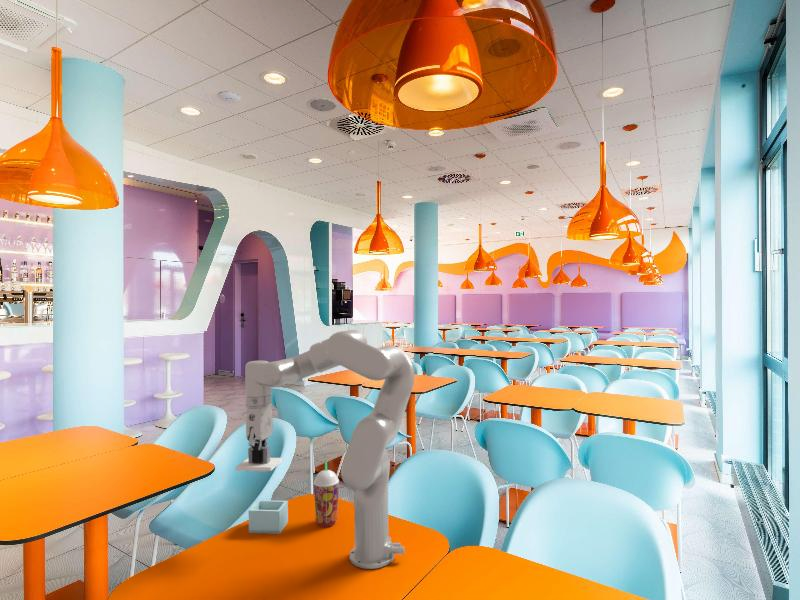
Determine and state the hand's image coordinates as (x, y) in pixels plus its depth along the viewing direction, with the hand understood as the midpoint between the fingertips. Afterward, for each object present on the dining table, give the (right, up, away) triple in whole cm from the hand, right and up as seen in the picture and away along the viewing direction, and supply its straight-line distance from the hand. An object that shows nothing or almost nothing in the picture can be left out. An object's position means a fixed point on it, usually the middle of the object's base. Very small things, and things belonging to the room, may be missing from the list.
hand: (259, 460), depth 145 cm
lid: (0, -2, 0) cm, 2 cm away
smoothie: (+19, -24, +9) cm, 32 cm away
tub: (+1, -24, +7) cm, 25 cm away
